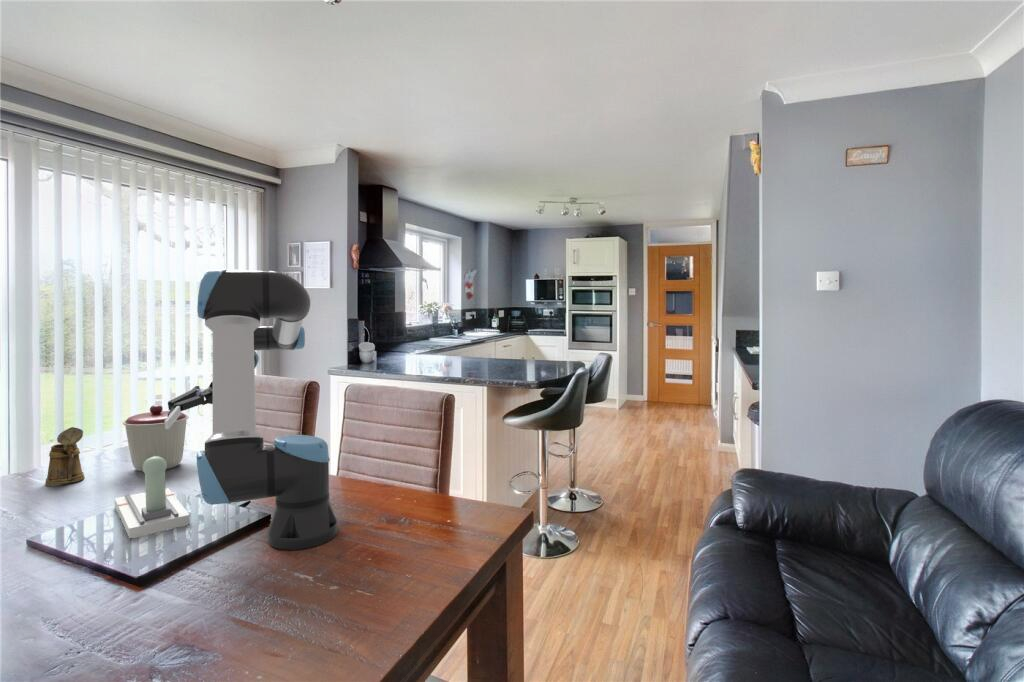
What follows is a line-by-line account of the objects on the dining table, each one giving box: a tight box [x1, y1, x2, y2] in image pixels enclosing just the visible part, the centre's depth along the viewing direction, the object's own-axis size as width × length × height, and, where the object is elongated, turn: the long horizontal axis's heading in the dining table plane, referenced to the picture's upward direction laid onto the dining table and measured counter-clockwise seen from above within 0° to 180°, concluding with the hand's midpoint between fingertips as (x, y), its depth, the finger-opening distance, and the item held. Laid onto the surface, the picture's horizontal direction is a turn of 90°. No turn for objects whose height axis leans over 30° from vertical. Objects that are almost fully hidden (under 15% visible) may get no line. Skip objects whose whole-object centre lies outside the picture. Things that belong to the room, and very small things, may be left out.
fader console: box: [114, 487, 191, 540], centre depth 132 cm, size 26×12×3 cm, turn 43°
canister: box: [122, 404, 190, 473], centre depth 172 cm, size 18×18×21 cm
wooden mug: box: [44, 426, 85, 487], centre depth 156 cm, size 9×14×18 cm, turn 54°
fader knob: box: [142, 456, 171, 520], centre depth 126 cm, size 5×5×14 cm
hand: (194, 428), depth 136 cm, fingers open, 13 cm apart
